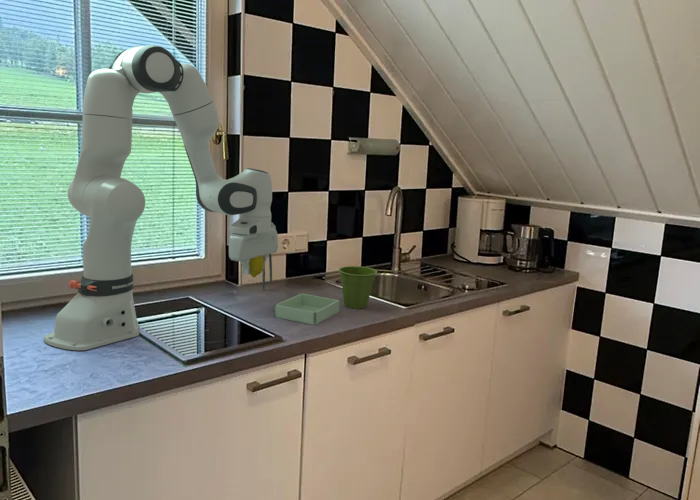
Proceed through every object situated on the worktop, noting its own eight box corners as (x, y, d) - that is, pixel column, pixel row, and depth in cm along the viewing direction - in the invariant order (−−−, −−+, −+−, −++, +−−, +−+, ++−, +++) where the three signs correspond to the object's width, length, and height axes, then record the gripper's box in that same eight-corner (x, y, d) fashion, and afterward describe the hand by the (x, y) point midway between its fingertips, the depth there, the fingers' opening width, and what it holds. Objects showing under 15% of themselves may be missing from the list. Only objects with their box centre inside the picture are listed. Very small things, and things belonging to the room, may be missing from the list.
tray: (314, 325, 162) (315, 312, 161) (273, 316, 168) (274, 304, 167) (339, 311, 176) (340, 300, 175) (301, 304, 181) (301, 293, 180)
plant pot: (347, 313, 175) (349, 275, 172) (330, 302, 185) (331, 267, 183) (382, 309, 180) (384, 273, 178) (363, 299, 190) (365, 265, 188)
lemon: (261, 275, 178) (262, 249, 177) (264, 279, 173) (265, 252, 172) (243, 275, 176) (243, 249, 175) (245, 279, 171) (246, 252, 170)
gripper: (266, 220, 183) (264, 264, 185) (225, 227, 164) (224, 275, 167) (283, 223, 180) (282, 267, 182) (244, 229, 162) (242, 279, 164)
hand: (254, 271), depth 174 cm, fingers closed on lemon, 5 cm apart
